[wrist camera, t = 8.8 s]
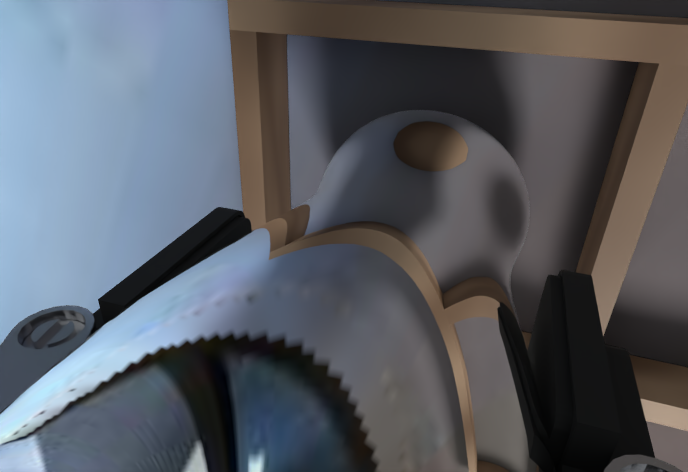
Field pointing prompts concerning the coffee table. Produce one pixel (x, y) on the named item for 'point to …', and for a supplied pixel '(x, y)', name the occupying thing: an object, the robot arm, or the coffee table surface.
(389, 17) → the coaster frame
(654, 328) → the coffee table surface
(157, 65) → the coffee table surface
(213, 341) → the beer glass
